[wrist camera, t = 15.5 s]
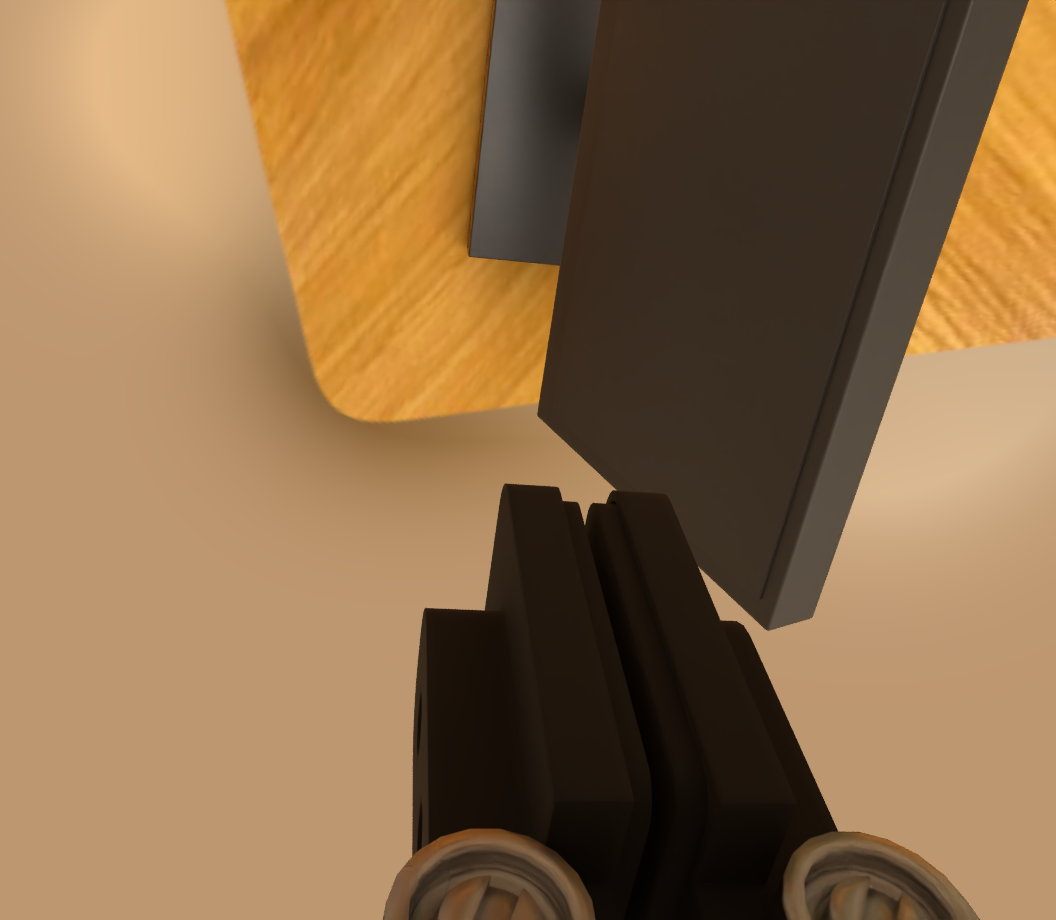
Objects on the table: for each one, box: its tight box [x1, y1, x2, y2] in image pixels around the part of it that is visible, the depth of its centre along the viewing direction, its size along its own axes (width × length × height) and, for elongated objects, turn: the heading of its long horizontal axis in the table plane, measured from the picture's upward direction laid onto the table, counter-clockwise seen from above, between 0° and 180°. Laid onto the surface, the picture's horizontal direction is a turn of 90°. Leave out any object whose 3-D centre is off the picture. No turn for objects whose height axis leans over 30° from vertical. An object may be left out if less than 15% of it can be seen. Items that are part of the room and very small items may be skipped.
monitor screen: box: [537, 0, 1029, 630], centre depth 25 cm, size 2×17×12 cm, turn 172°
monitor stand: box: [467, 0, 601, 266], centre depth 33 cm, size 10×12×12 cm
